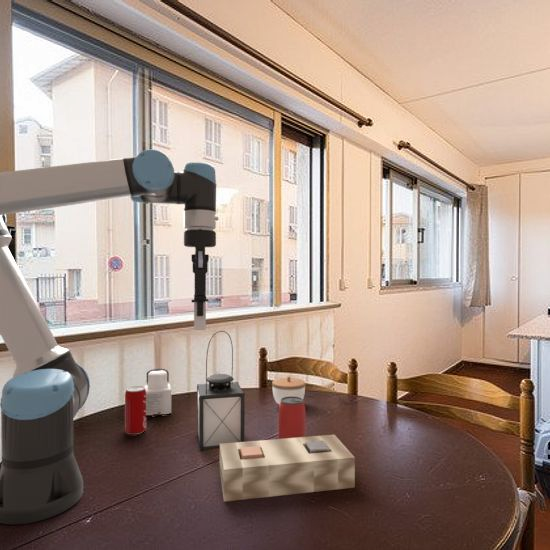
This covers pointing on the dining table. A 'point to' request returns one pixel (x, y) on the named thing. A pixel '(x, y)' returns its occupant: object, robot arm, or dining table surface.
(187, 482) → the dining table surface
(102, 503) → the dining table surface
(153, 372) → the container
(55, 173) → the robot arm
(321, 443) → the metal peg
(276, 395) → the lidded jar
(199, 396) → the lantern
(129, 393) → the soda can
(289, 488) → the birch block
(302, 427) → the beer can
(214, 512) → the dining table surface
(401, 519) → the dining table surface
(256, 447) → the terracotta peg
